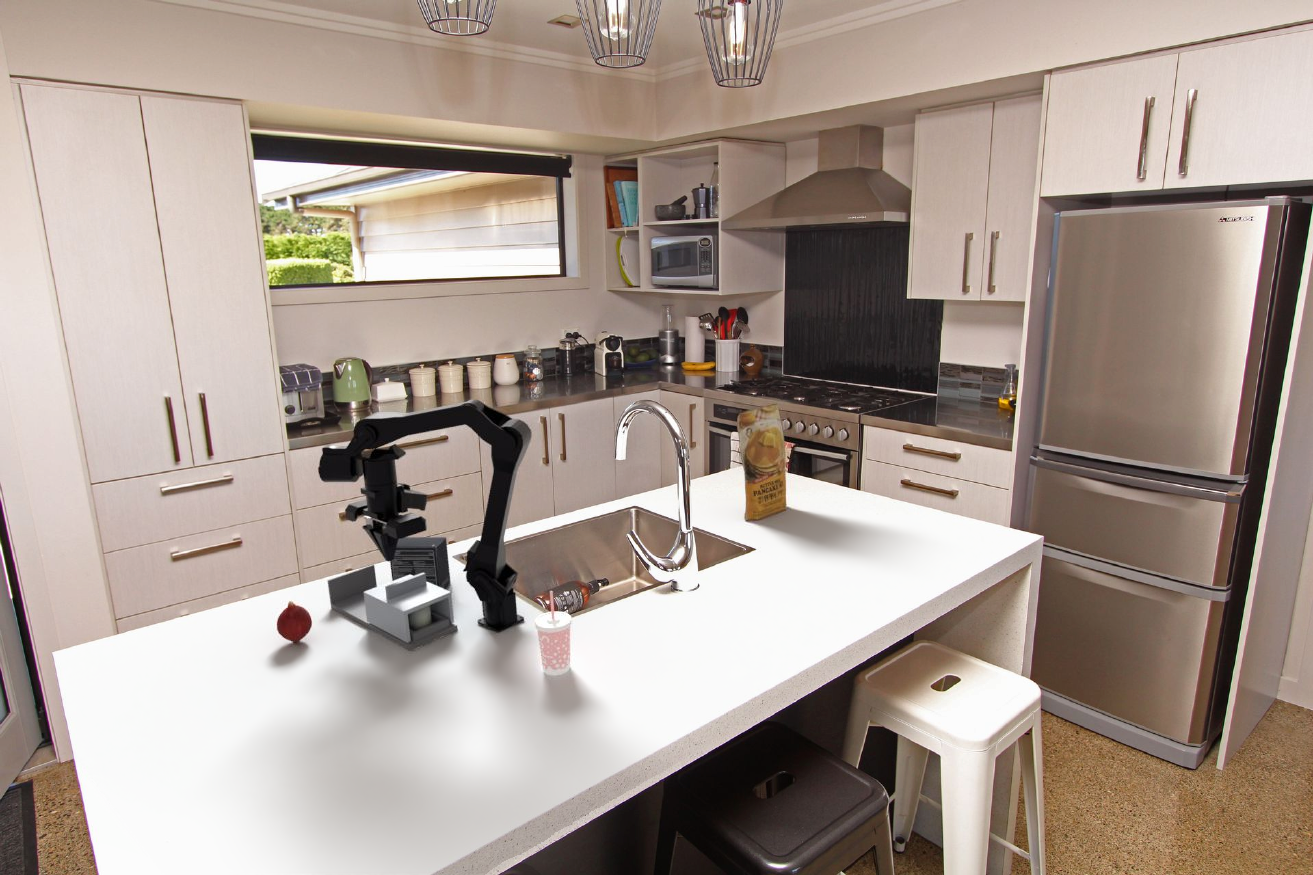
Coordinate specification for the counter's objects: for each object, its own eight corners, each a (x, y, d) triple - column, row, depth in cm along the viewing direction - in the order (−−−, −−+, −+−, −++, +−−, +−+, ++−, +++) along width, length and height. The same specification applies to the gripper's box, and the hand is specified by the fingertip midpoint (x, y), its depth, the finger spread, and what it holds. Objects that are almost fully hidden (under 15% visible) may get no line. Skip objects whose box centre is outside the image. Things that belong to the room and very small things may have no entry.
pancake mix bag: (728, 518, 203) (727, 412, 197) (776, 501, 216) (777, 400, 209) (748, 524, 198) (748, 415, 192) (796, 506, 211) (797, 404, 204)
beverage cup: (534, 663, 135) (528, 588, 132) (568, 655, 137) (563, 581, 134) (543, 681, 129) (538, 602, 126) (579, 672, 132) (574, 594, 128)
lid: (454, 621, 148) (450, 579, 146) (407, 642, 141) (402, 598, 139) (413, 602, 157) (409, 563, 155) (367, 621, 149) (361, 579, 147)
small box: (452, 581, 170) (447, 535, 167) (441, 594, 163) (436, 547, 161) (404, 581, 171) (399, 535, 168) (392, 594, 164) (386, 546, 162)
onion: (321, 636, 147) (315, 596, 145) (298, 651, 142) (292, 610, 140) (296, 632, 149) (290, 593, 147) (272, 647, 143) (266, 606, 142)
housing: (457, 629, 148) (454, 600, 146) (410, 650, 140) (407, 620, 139) (376, 591, 166) (373, 564, 164) (331, 608, 159) (327, 580, 157)
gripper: (447, 479, 145) (455, 558, 149) (392, 464, 157) (400, 537, 161) (393, 494, 137) (402, 578, 141) (339, 477, 149) (349, 554, 153)
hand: (389, 560), depth 149 cm, fingers closed
